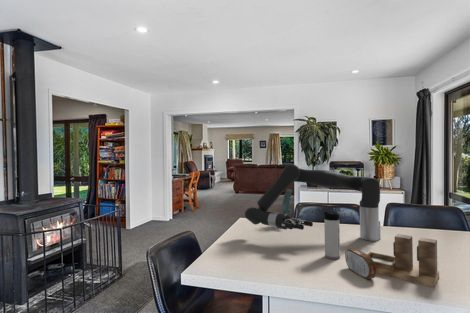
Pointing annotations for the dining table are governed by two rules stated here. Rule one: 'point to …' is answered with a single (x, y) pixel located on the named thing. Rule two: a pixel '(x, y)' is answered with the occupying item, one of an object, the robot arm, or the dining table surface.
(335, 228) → the travel mug
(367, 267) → the tin
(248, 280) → the dining table surface
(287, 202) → the teal textured tall figure
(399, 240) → the brown wooden piece
